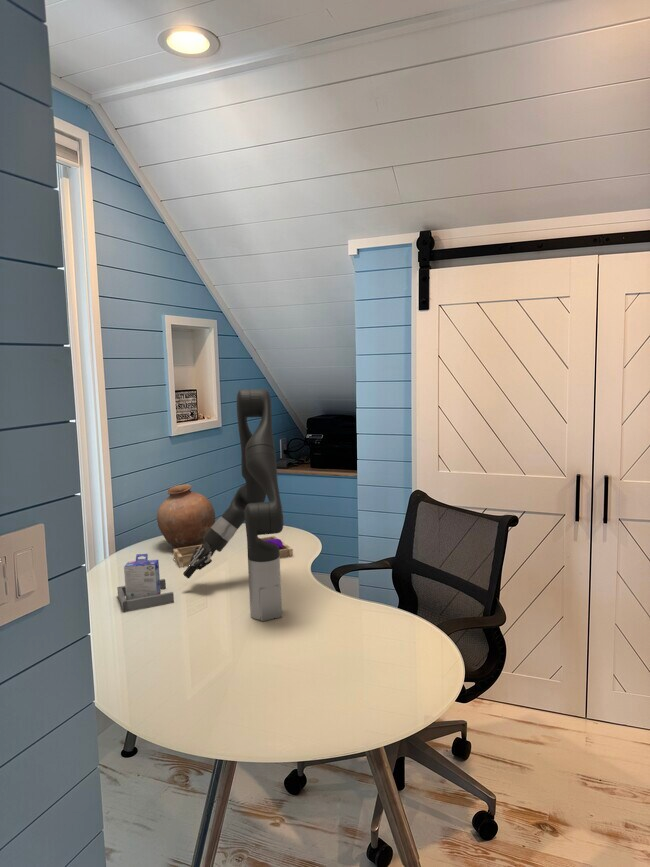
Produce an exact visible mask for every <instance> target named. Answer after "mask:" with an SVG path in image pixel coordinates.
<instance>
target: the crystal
mask: <svg viewBox="0 0 650 867" xmlns="http://www.w3.org/2000/svg"><path fill="white" fill-rule="evenodd" d="M264 541H266V542H269V543H273V544H275V545H277V546H278V547H279V550H281V549H283V544H282V542H283V541H282V539H280V538H278V539H269V540H264Z"/></svg>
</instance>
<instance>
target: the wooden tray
mask: <svg viewBox="0 0 650 867" xmlns="http://www.w3.org/2000/svg"><path fill="white" fill-rule="evenodd" d="M202 545H203V544H201V545H195V546H189V547H183V548H179V547H175V548H173V549H172V551H173V552H172V553H173V560H174V559H175V560H174V562H175V563H176V562H177V563H178V564H177V563H176V564H177V566H178V565H179V566H180V567H182V568H184V567H183V566H187V567H189V565H190V563H191V561H190V559H191V557H192V555H193V553H194V551H195V549H196V547H199V548H200V546H202ZM179 566H178V567H179ZM180 567H179V568H180Z"/></svg>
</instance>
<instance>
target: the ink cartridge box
mask: <svg viewBox="0 0 650 867" xmlns="http://www.w3.org/2000/svg"><path fill="white" fill-rule="evenodd" d="M148 555H149V554H148V553H138V554H137V553H136V555H135V560H134V561H133V560H132V561H127V563H126V564H125V565H124V566H123V570H124V571H123V572H124V586H125V589H126V596H125V597H126V600H131V599H137V598H142V597H147V596H153V595H158V594H162V593H161V590H162V589H161V590H160V579H161V577H160V566H159V565H160V562H159V559H149V560H148V558H149V557H148ZM140 557H144V558H140Z"/></svg>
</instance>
